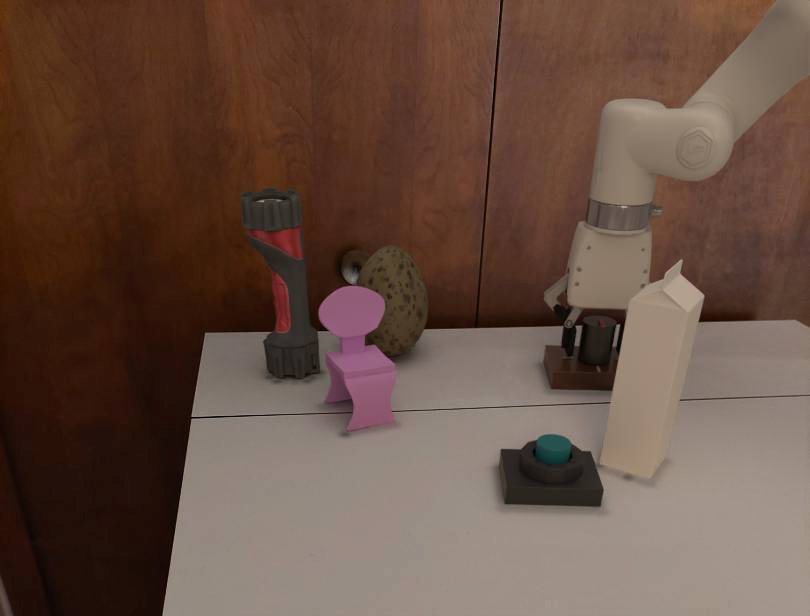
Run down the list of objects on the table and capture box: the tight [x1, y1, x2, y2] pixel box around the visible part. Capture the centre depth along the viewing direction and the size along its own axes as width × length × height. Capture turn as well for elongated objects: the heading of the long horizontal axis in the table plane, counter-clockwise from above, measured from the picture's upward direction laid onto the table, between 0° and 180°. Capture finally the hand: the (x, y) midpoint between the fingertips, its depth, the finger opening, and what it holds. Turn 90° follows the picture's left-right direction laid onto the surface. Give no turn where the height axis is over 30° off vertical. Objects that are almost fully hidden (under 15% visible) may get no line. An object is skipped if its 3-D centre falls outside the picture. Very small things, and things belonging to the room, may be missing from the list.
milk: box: [599, 258, 705, 480], centre depth 85 cm, size 6×6×22 cm
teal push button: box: [535, 433, 572, 464], centre depth 84 cm, size 4×4×2 cm
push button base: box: [498, 439, 605, 508], centre depth 85 cm, size 10×8×4 cm
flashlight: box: [240, 186, 321, 379], centre depth 103 cm, size 8×8×23 cm
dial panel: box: [542, 344, 619, 391], centre depth 109 cm, size 12×9×3 cm
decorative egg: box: [354, 245, 429, 357], centre depth 111 cm, size 11×11×15 cm
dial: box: [577, 315, 618, 365], centre depth 107 cm, size 4×4×6 cm
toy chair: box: [317, 285, 397, 432], centre depth 95 cm, size 8×9×15 cm
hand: (594, 352), depth 108 cm, fingers open, 6 cm apart
